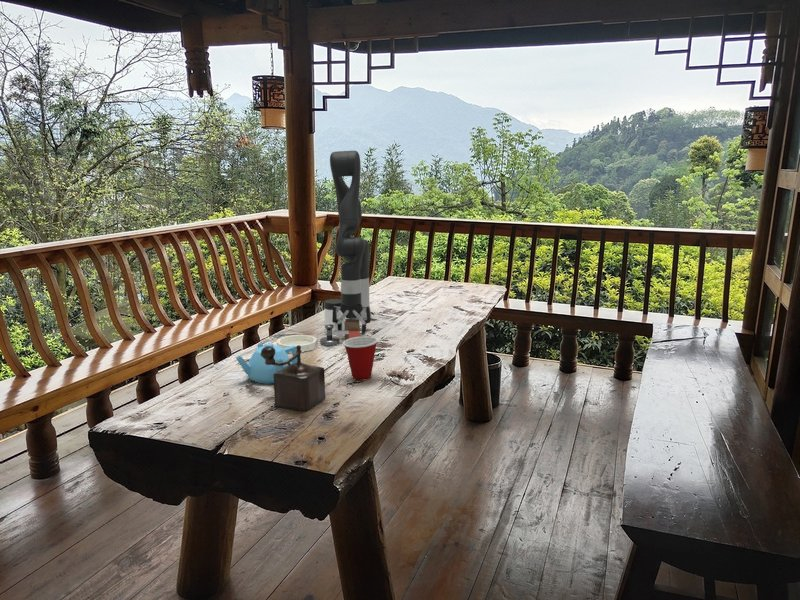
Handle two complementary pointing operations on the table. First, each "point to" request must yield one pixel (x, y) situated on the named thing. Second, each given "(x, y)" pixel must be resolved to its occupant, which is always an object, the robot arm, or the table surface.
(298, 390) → the coffee grinder
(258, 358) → the teapot
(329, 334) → the base
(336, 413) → the table surface
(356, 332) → the crank
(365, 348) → the plastic cup
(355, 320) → the block
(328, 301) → the jar
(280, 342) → the dish
